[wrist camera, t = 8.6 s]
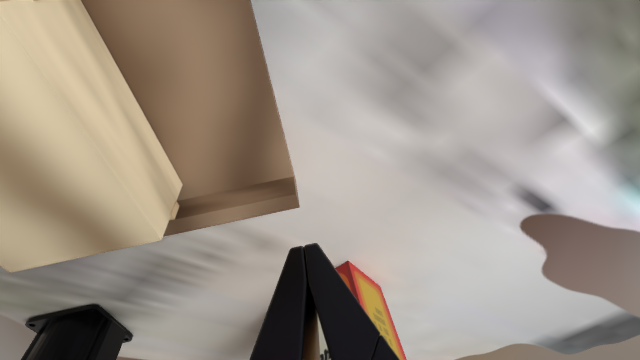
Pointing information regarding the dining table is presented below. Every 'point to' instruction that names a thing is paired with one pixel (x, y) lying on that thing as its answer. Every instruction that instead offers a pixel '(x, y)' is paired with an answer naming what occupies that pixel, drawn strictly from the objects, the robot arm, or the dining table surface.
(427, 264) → the dining table surface
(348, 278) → the baking soda box
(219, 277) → the dining table surface
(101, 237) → the cream slab
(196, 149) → the crate bay
